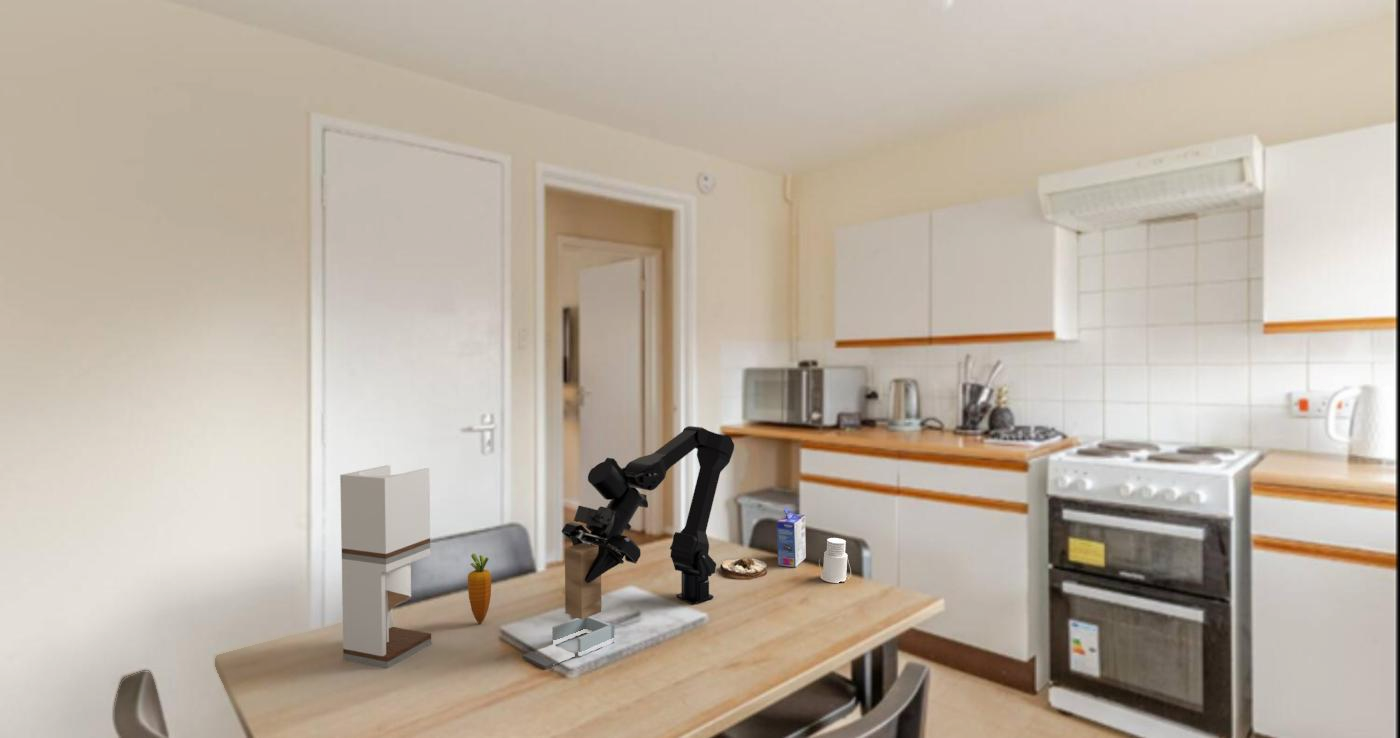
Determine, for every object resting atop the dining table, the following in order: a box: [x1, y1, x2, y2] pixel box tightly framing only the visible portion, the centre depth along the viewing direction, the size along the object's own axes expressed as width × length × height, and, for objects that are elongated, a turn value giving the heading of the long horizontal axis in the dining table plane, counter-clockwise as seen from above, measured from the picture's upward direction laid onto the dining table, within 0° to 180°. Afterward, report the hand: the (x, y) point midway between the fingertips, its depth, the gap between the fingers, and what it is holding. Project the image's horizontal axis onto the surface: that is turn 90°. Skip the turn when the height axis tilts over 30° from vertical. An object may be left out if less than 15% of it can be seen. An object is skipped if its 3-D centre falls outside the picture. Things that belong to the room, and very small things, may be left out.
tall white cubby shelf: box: [339, 464, 432, 669], centre depth 136 cm, size 11×11×35 cm
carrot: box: [467, 553, 492, 625], centre depth 149 cm, size 5×5×15 cm
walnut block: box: [564, 543, 602, 619], centre depth 139 cm, size 5×5×13 cm
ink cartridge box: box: [776, 507, 807, 568], centre depth 192 cm, size 10×6×14 cm, turn 155°
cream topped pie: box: [719, 557, 769, 580], centre depth 184 cm, size 15×15×4 cm
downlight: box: [818, 537, 852, 584], centre depth 178 cm, size 8×7×10 cm
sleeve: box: [522, 616, 615, 670], centre depth 137 cm, size 16×9×4 cm, turn 139°
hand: (577, 578), depth 138 cm, fingers closed on walnut block, 5 cm apart
